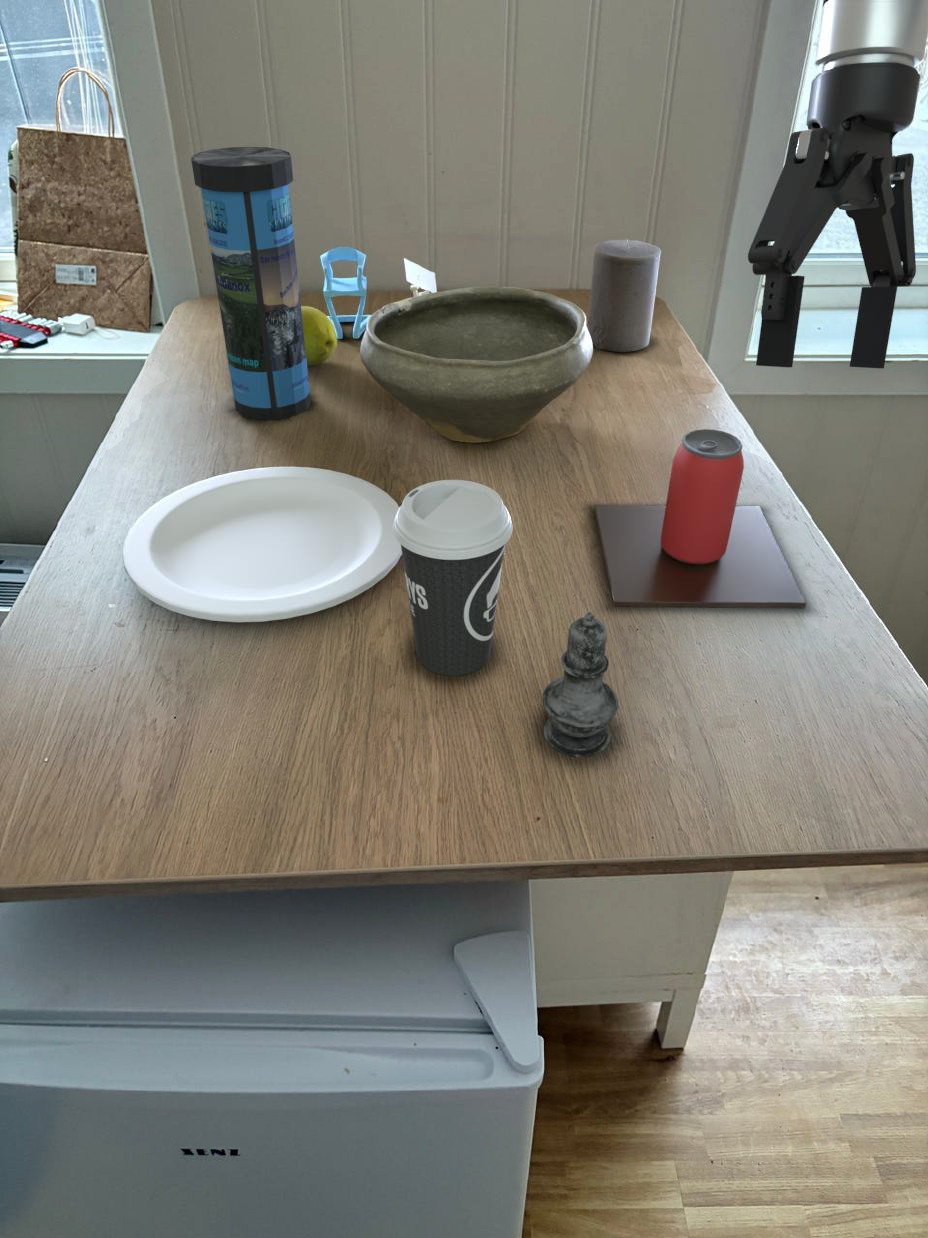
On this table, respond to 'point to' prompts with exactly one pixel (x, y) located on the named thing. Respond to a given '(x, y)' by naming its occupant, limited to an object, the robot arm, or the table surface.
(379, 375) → the bowl
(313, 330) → the lemon
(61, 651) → the table surface
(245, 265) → the advertising column
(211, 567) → the plate
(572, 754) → the salt shaker
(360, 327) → the chair
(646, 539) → the back mat
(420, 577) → the coffee cup
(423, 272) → the white panel on stand
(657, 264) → the pillar candle
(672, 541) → the beer can
